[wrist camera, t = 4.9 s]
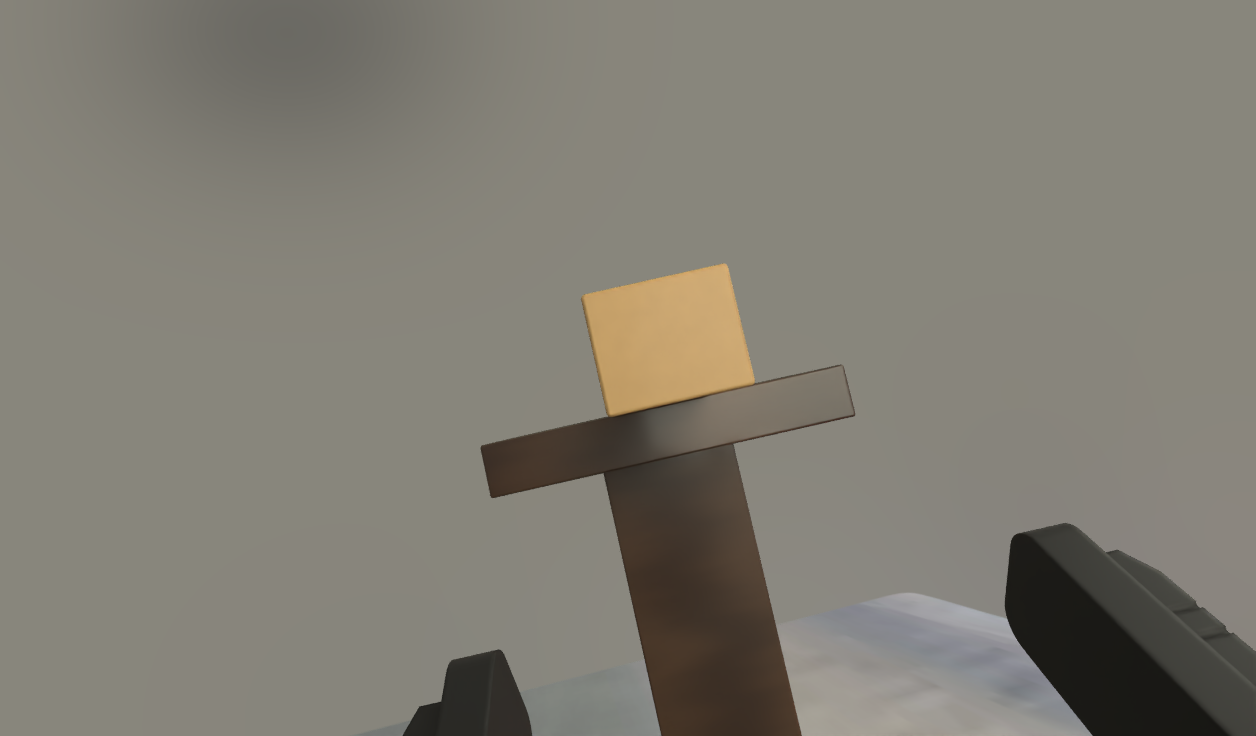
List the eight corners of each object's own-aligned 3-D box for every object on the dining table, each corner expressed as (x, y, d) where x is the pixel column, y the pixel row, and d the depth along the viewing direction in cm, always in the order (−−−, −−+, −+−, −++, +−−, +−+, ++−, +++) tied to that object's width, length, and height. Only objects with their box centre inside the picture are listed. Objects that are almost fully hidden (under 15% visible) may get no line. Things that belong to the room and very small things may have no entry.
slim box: (607, 418, 15) (580, 294, 15) (620, 413, 39) (609, 365, 39) (756, 384, 15) (727, 261, 15) (678, 400, 39) (667, 352, 39)
